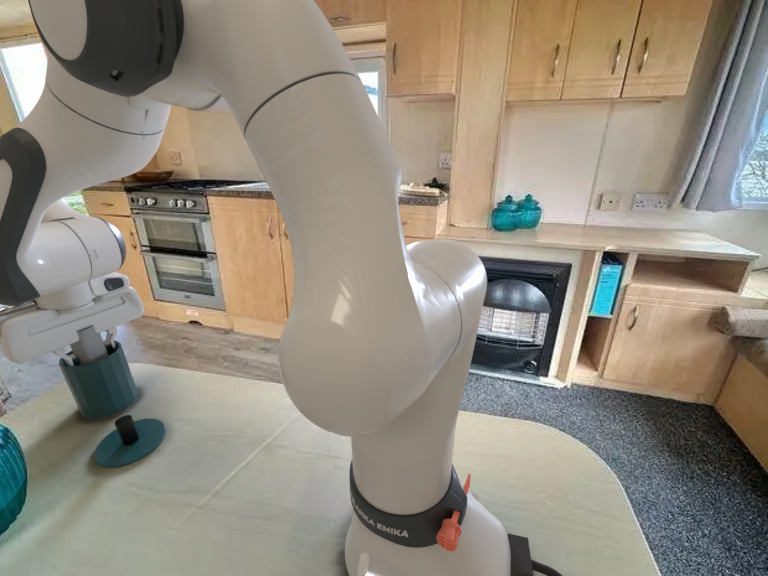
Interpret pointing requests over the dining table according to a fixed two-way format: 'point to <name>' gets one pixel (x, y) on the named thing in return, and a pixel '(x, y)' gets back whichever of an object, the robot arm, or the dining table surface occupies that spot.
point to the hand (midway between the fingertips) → (92, 356)
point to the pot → (101, 384)
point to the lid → (129, 441)
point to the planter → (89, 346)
